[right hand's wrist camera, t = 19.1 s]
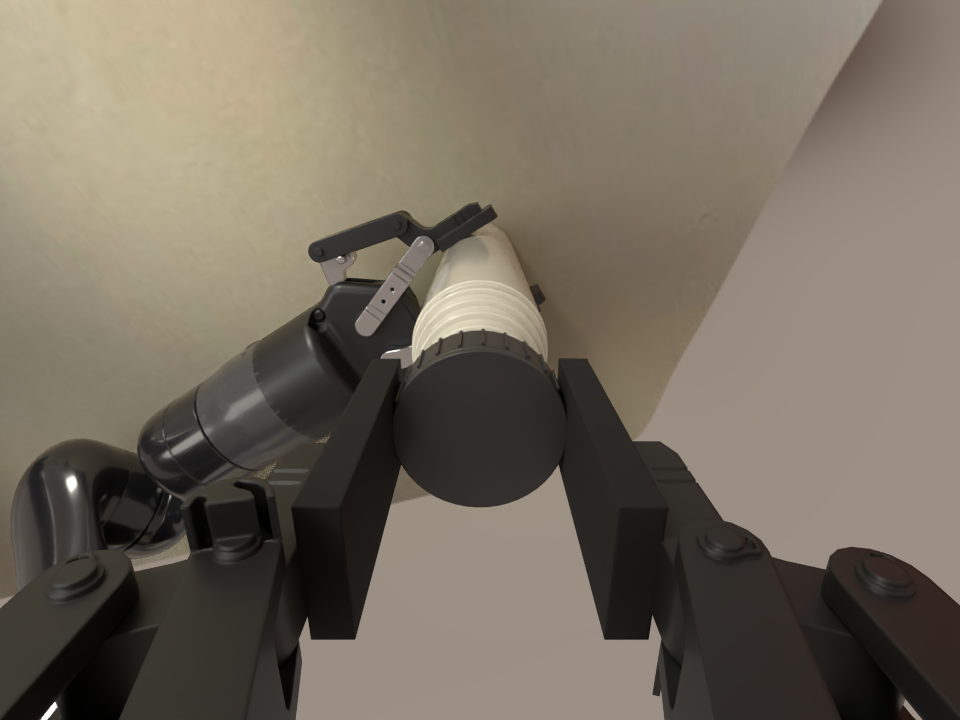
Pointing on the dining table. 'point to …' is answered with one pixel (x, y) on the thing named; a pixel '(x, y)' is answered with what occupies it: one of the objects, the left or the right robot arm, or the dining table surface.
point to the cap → (479, 419)
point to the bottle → (480, 294)
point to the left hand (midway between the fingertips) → (516, 252)
